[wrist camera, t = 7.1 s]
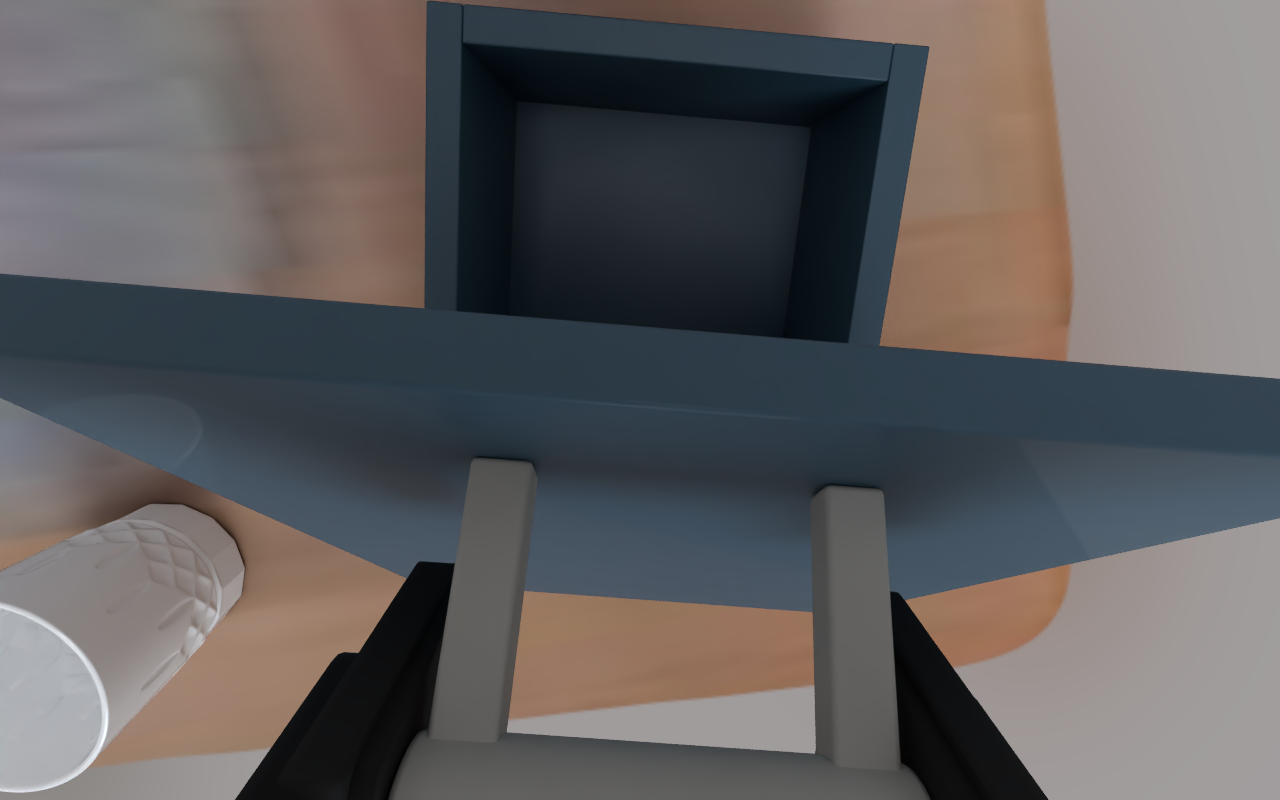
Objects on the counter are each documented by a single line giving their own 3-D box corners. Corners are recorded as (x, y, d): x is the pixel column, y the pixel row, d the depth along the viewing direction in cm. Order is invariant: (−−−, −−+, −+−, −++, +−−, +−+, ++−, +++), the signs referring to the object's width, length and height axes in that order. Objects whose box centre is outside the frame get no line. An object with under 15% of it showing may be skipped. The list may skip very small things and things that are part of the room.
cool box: (498, 77, 29) (426, 0, 19) (832, 107, 29) (930, 46, 19) (486, 464, 33) (422, 563, 23) (779, 487, 33) (837, 594, 23)
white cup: (249, 492, 33) (87, 601, 23) (266, 638, 35) (123, 795, 25) (84, 488, 33) (-148, 596, 23) (110, 634, 35) (-95, 791, 25)
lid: (-82, 264, 6) (-508, 1079, 4) (1456, 390, 6) (1781, 1211, 4) (420, 557, 23) (385, 747, 21) (841, 589, 23) (848, 779, 21)
